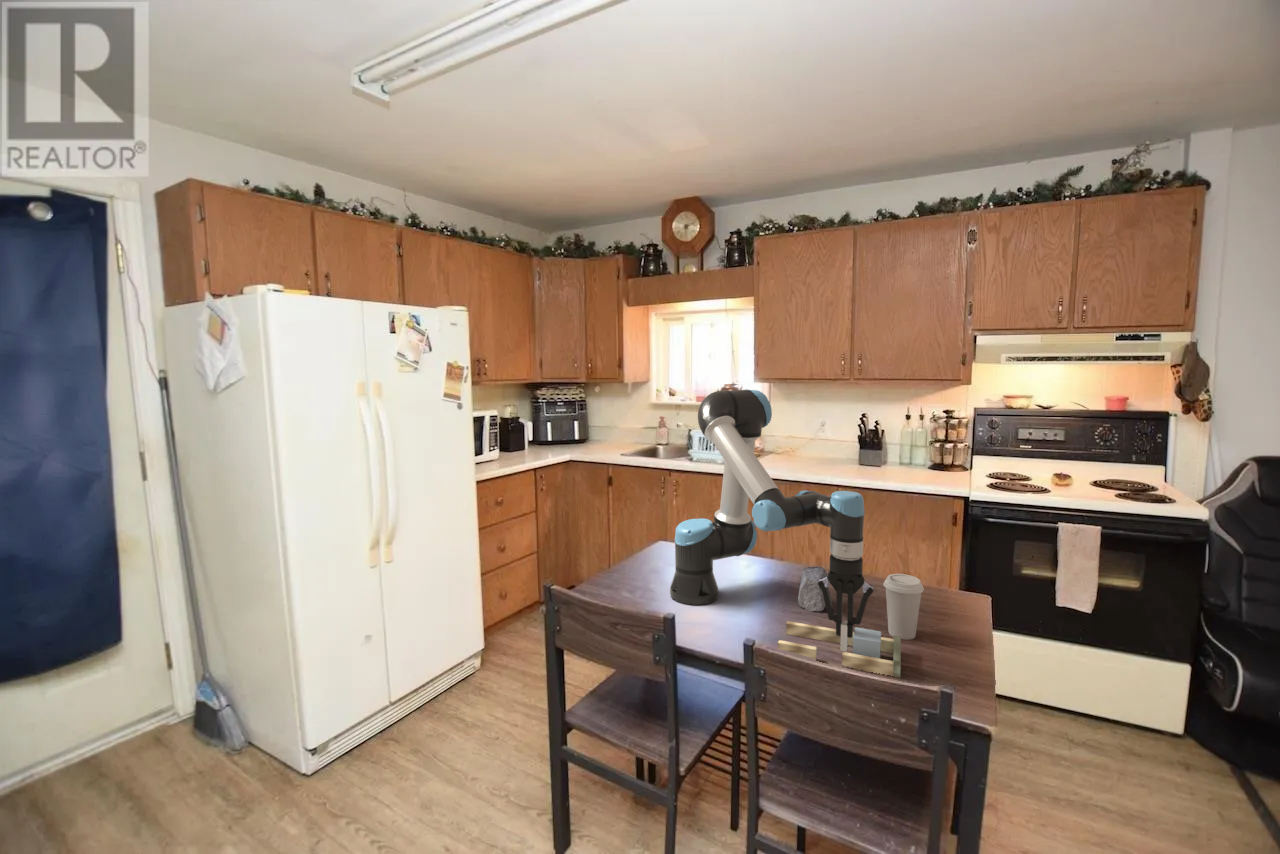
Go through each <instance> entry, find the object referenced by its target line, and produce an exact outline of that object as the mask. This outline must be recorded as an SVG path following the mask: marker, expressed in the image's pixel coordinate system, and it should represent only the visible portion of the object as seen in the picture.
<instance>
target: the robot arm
mask: <svg viewBox="0 0 1280 854" xmlns="http://www.w3.org/2000/svg"><path fill="white" fill-rule="evenodd" d="M772 412H773V411H772V406H771V403H770V401H769V399H768V397H767V395H766V394H764V393H763V392H762V391H760V390H757V389H736V390H735V389H733V390H716V391H713V392H711V393H709V394H707V395H706V397H705V398H703V399H702V401H701V402H700V404H699V407H698V409H697V422H698V426H699V429H700V431H701V433H702V435H703V436H704V437H705V439H706V440H707V441H709V442H712V443H713V445H714V447H715V448H716V449H717V451H718V452H719V453H720V455H721V457H722V459H723V460H724V465H723V473H722V474H723V475H722V476H723V477H722V485H721V496H720V506H719V509H717V510H716V511H715V512H714V517H713V521H712V520H710V519H708V518H703V517H702V518H690V519H687V520H684V521H682V522H680V523H678V525H677V526H676V527H675V532H674V533H675V534H674V535H675V536H674V544H675V546H674V548H675V551H674V552H675V556H674V557H675V560H674V561H675V572H674V575H673V579H672V581H671V584H670V589H669V593H670V594H669V596H670V595H671V596H670V598H671V597H672V598H673V599H675V600H676V601H675V600H674V601H675V602H677V601H679V602H678V603H680V602H682V603H681V604H684V603H687V604H686V605H690V604H692V605H691V606H693V605H694V606H698V605H706V604H707V605H708V604H710V603H713V602H715V601H717V600H718V598H719V596H720V595H719V594H720V593H719V587H718V583H717V580H716V578H715V575H714V561H717V560H721V559H722V560H723V559H726V558H727V559H728V558H732V557H741V556H743V555H746V554H748V553H750V552H751V551H752V550H754V548H755V546H756V544H757V541H758V539H757V538H758V531H757V530H756V528H757V529H759V530H760V531H762V532H773V531H775V532H777V531H781V530H784V529H789V528H793V527H794V528H795V527H802V526H808V525H813V524H816V525H817V524H818V525H822V526H824V527H827V528H830V529H829V530H830V535H829V553H830V554H829V571H828V573H827V577H826V578H824V579H822V578H820V579H819V582H818V585H819V587H820V588H821V590H822V592H823V597H824V601H825V605H826V607H825V609H826V612H827V613H826V614H827V617H828V620H829V621H833V622H835V629H836V635H837V636H841V644H839V645H840V647H839V648H840V651H841V652H847V653H848V647H849V645H848V637H849V638H852V635H853V632H854V631H853V630H854V625H858V626H859V625H860V624H861V622H862V619H863V617H864V613H865V610H866V606H867V604H868V600H869V598H870V596H872V594H873V593H874V589H875V588H874V585H872V584H869V583H867V582H866V581H865V578H864V576H863V571H864V570H863V568H864V567H863V565H864V564H863V561H864V559H863V558H862V557H863V556H864V525H865V523H864V522H865V500H864V496H863V495H862V494H861V493H860V492H858V491H857V492H856V491H850V490H836V491H833V492H832V493H831V496H830V495H827V494H822V493H820V492H817V491H814V490H800V491H799V492H798V493H796V494H795V495H794V496H792V495H791V496H787V497H786V496H785V495H784V494H783V493H782V491H781V490H780V488H779V486H778V485H777V484H776V483H775V481H774V479H772V477H771V476H770V474H769V473H768V471H767V470H766V469H765V467H764V466H763V464H762V463H761V461H760V460H759V459H758V457H757V456H756V455H755V445H756V441H757V440H758V439H759V438H761V437H762V429H764V428H765V427H767V426H768V425H769V424H770V423H771V421H772V417H773V416H772V415H773V414H772ZM749 499H750V501H751V502H752V504H753V507H752V508H751V515H750V514H749V512H748V508H749ZM752 518H753V520H752ZM829 585H831V586H832V588H833V590H834V591H835V592H836V609H834V607H833V601H832V597H831V593H830V588H828V587H830V586H829ZM861 588H862V592H863V594H862V595H861V596H862V597H861V600H860V603H859V606H858V609H857V612H856V616H855V617H854V610H855V608H854V605H855V603H854V602H855V597H854V596H855V594H856V593H857V592H858V591H859V590H860V589H861ZM844 594H846V595H847V615H846V616H847V617H846V618H847V619H846V620H843V598H844V597H843V595H844ZM672 598H671V599H672ZM673 599H672V600H673ZM834 610H835V611H836V613H835V611H834Z"/></svg>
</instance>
